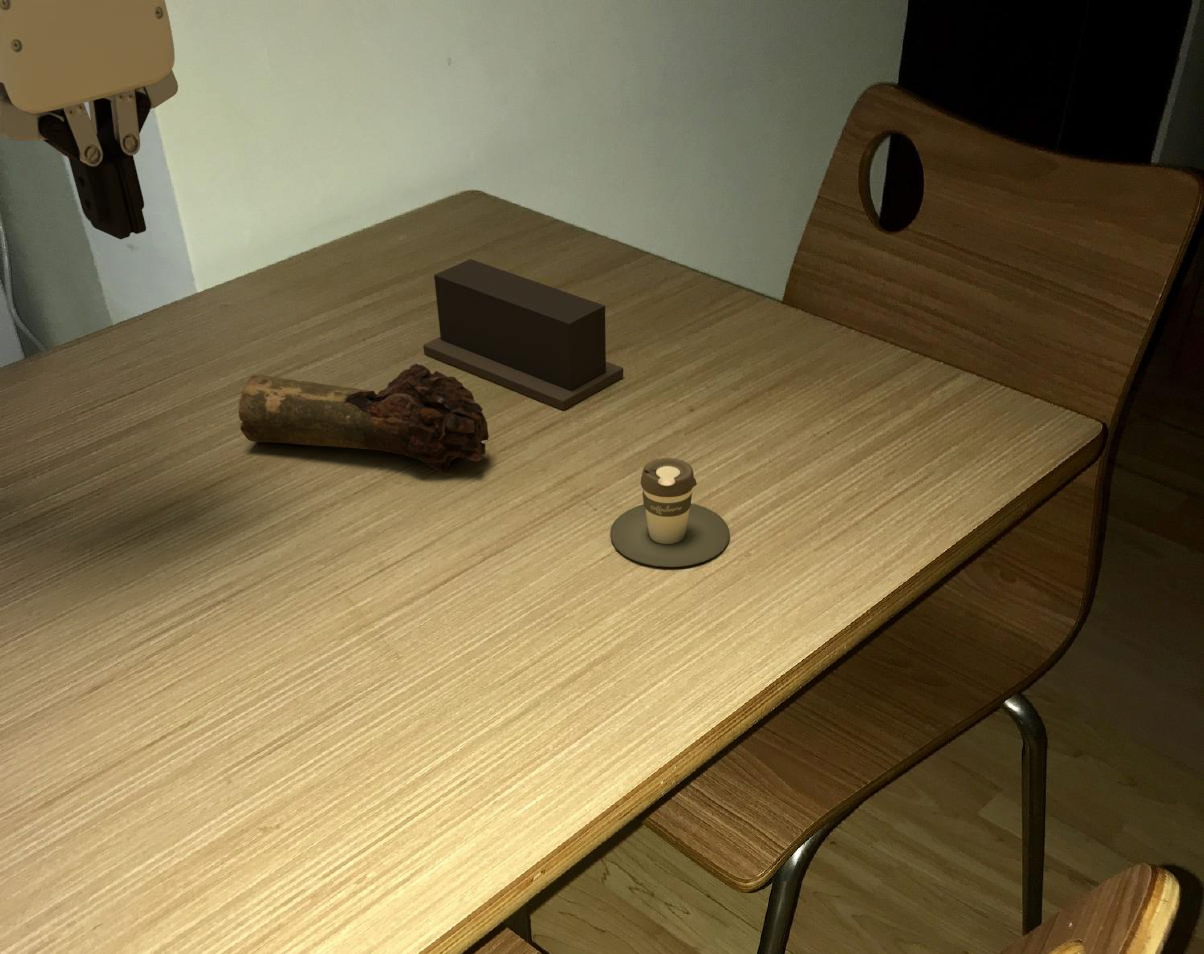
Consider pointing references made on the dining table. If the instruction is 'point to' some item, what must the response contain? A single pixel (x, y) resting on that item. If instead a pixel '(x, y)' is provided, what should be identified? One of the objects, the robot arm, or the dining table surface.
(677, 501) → the coffee cup
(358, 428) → the gnarled wood log
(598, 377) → the dark brown block stand
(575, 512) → the dining table surface
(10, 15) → the robot arm
